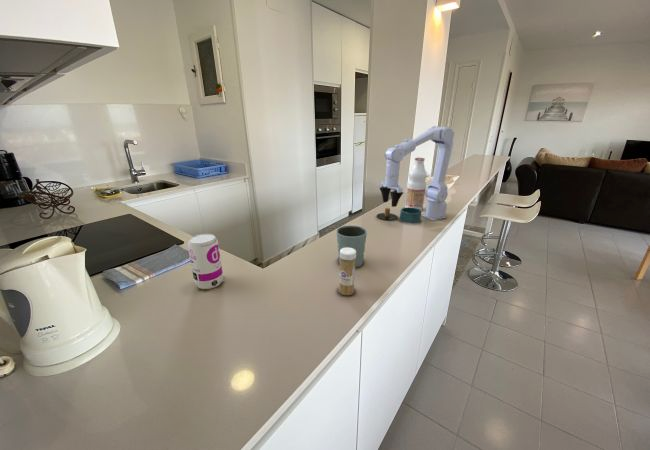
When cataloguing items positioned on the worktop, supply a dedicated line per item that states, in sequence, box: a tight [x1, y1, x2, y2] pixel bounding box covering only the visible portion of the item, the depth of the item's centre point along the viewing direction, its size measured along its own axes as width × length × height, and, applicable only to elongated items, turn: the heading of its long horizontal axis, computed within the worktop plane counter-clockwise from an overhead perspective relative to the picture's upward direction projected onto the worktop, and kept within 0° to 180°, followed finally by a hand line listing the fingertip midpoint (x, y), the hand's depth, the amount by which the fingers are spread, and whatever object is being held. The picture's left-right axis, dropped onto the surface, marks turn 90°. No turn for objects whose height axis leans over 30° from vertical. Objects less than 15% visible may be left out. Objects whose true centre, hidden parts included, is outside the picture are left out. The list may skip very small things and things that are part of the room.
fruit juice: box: [404, 157, 428, 211], centre depth 150 cm, size 9×9×28 cm
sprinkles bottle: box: [338, 248, 356, 296], centre depth 79 cm, size 5×5×13 cm
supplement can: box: [187, 233, 224, 290], centre depth 83 cm, size 8×8×15 cm
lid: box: [376, 207, 398, 222], centre depth 140 cm, size 10×10×5 cm
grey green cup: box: [336, 225, 368, 268], centre depth 96 cm, size 10×10×12 cm
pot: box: [399, 207, 423, 224], centre depth 136 cm, size 10×10×5 cm
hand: (389, 204), depth 130 cm, fingers open, 7 cm apart
